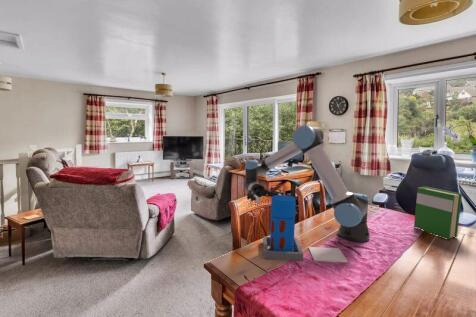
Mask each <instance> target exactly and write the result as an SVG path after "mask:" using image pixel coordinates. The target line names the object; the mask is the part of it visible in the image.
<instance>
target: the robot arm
mask: <svg viewBox="0 0 476 317" xmlns="http://www.w3.org/2000/svg"><path fill="white" fill-rule="evenodd" d="M324 135H325V134H324V131H323V130H322V128H320V127H319V126H317V125H309V124H303V125H300V126H298V127H297V128H295V130H294V131H293V134H292V142H291V143H289V144H286V145H285V146H283V147H282V148H281V149H279V150H277V151H276V152H273V154H270V155H269V156H267V157H266V158H264V159H263V160H261V161H259V160H256V159H246V161H245V167H244V168H245V170H244V171H245V172H244V173H245V178H244V181H243V183H242V186H243V188H244V190H245V191H247V192H248V193H247V194H246V199H247V200H250V202H255V203H257V205H260V202H261V201H260V198H262V197H263V198H264V197H267V198H269V197H271V198H272V196H275V195H285V194H284V192H282V191H278V190H274V189H270V188H269V189H266V188H265V186H264V185H262V184H261V183H259V181H258V177H259V175H261V174H266V173H268V172H270V171H271V170H272V169H274V168H276V167H277V166H279V165H280V164H283V163H284V162H286V161H288V160H289V159H292V158H293V157H295V156H297V155H299V154H301V153H302V154H303V156H306V157H307V158H308V159H309V161H310V162H311V164H312V166H313V168H314V170H315V172H316V173H317V175H318V177H319V179H320V180H321V182H322V184H323V186H324V187H325V190H326V192H327V193H328V195H329V197H330V198H331V201H330V205H331V207H332V209H333V217H334V219H335V221H336V222H337V223H338V224H339V225H340V226H339V228H338V233H337V234H338V236H339V237H341V238H343V239H344V240H347V241H350V242H351V241H352V242H358V243H359V242H361V243H363V242H368V241H369V240H370V237H371V236H370V231H369V227H368V211H369V202H370V200H369V196H368V195H367V194H365V193H364V194H363V193H359V192H351V191H349V190H348V188H347V186H346V185H345V183H344V181H343V180H342V178H341V176H340V174H339V173H338V171H337V169H336V168H335V166H334V164H333V162H332V161H331V159H330V157H329V155H328V154H327V152H326V150H325V148H324V147H325V145H326V144H325V143H324V141H323V140H324V139H325V138H324V137H325V136H324Z"/></svg>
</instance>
